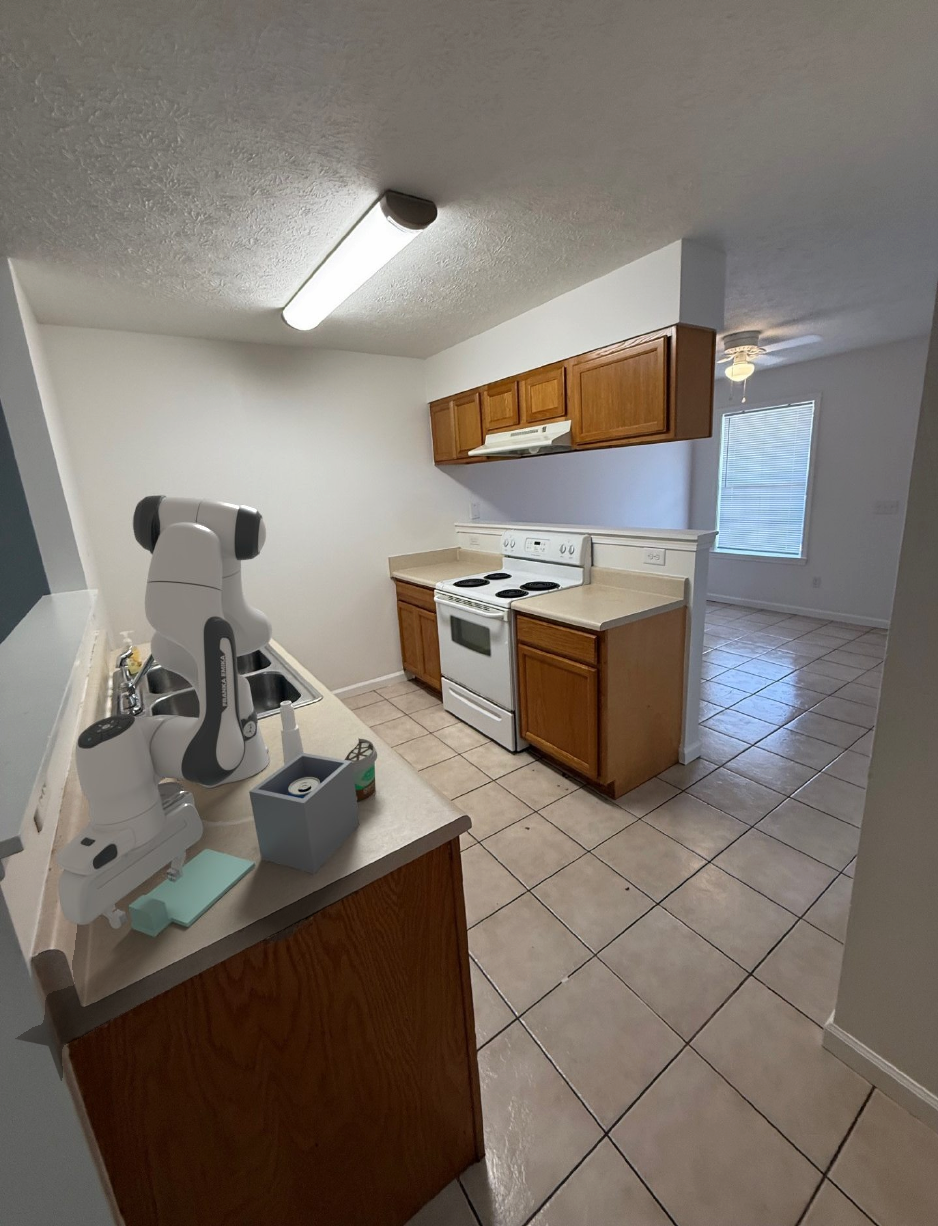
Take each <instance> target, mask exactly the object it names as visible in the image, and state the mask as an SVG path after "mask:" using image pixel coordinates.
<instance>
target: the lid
mask: <svg viewBox="0 0 938 1226" xmlns="http://www.w3.org/2000/svg"><path fill="white" fill-rule="evenodd" d="M254 867H256V862H255V861H251V860H247V859H244V858H241V857H238V856H233V855H230V854H227V853H223V852H220V851H216V850H212V849H209V848H204V850H202V851H201V852H200V853H198V854H197V855H196V856H195V857H193V858H192V859H191V860H189V861H188V862H187V863H185V864H183V867H182V871H183V876H182V877H181V878H180V879H179V880H177V881H176V882H173V881H169V879H168V877H167V878H166V879H165V880H163V881H162V882H161V883H160V884H158V885H157V886H155V888H153V889H152V890H151V891H150V892H148V893H146V894H142V895H140V896H139V897H138V898H136V899H135V900H134V901H132V902H131V903H130V904H129V905H128V911H129V914H130V919H131V923H130V925H131V926H130V927H131V928H132V930H135V931H138V932H140V933H144V934H146V935H148V936H150V935H151V937H153V936H154V937H153V938H155V937H156V936H157V935H159V934H160V933H161V932H162V931H163V930H164V929H165V928H167V927H168V926H169V925H170V924H171V923H175V924H177V925H181V926H182V927H186V928H190V926H192V925H193V924H194V923H195V922H196V921H197V920H198V919H199V918H200V917H202V915H203V914H204V913H206V912H207V911H208V910H209V909H210V908H211V907H212V906H213V905H214V904H215V903H217V901H219V899H221V897H223V896H224V895H225V894H226V893H227V892H228V891H229V890H230V889H232V887H234V886H235V885H236V884H237V883H238V882H239V881H240V880H241V879H243V878H244V876H245V875H247V874H248V873H249V872H250V871H252V869H253V868H254ZM161 930H162V931H161ZM159 932H160V933H159ZM158 933H159V934H158Z"/></svg>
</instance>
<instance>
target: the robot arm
mask: <svg viewBox="0 0 938 1226" xmlns="http://www.w3.org/2000/svg"><path fill="white" fill-rule="evenodd" d="M132 529H133V534H134V539H135V540H136V542H137V543H138V544H139V545H140V546H141V547H142V548H143V549H144V550H147V551H149V552H150V554H151V555H152V556H151V559H150V563H149V569H148V573H147V581H146V585H145V586H146V587H145V593H144V610H145V616H146V617H145V618H146V619H147V622H148V623H149V624H150V626H151V627H152V628H153V629H154V631H155V632H154V633H153V635H152V637H151V641H150V653H151V656H152V658H153V660H154V661H155V662H156V663H157V664H158V665H159V666H160V667H162V668H163V669H165V670H166V671H170V672H173V673H175V674H176V675H177V674H178V675H179V676H181V677H182V678H184V679H185V680H186V681H188V683H189V684H190V685H191V687H192V688H193V689H194V690H195V693H196V696H197V699H198V701H199V702H198V703H199V716H198V717H194V716H193V717H192V716H191V717H190V716H184V715H173V714H158V715H150V716H147V717H144V716H143V717H142V716H135V715H133V714H126V713H123V714H121V713H120V714H116V715H115V714H114V715H111V716H108V717H105V718H102V719H100V720H97V721H95V722H93V723H91V725H89V726H88V727H86V728H85V729H84V730H83V731H82V732H81V733H80V735H79V736H78V738H77V741H76V742H75V743H76V744H75V753H74V755H75V756H74V757H75V766H76V772H77V777H78V780H79V781H78V782H79V785H80V788H81V793H82V795H83V796H84V797H85V798H86V800H87V802H88V804H89V810H88V818H89V822H88V823H87V824H85V826H84V827H83V828H82V829H81V830H80V831H79V833H77V834H76V835H75V836H74V837H73V838H72V839H71V840H70V841H69V842H68V843H67V844H66V845H65V846H64V847H62V848H61V850H60V851H59V852H58V853H57V854H56V856H55V862H56V864H57V866H59V867H60V868H61V869H63V870H62V871H61V873H60V875H59V877H58V882H57V889H58V890H57V891H58V897H59V899H58V900H59V904H60V909H61V912H62V915H63V917H64V919H66V920H67V921H68V922H70V923H73V924H75V925H80V926H86V925H89V924H90V923H92V922H93V921H94V920H95V919H96V918H98V917H100V915H101V916H104V917H106V918H107V919H108V922H109V925H110V927H111V928H113V929H116V930H117V929H118V930H119V928H121V927H122V926H123V925H124V924H126V922H128V918H127V916H128V915H127V913H126V911H124V910H121V909H120V908H119V909H116V908H117V907H116V903H118V902H119V901H120V900H122V899H123V898H124V897H126V896H128V894H130V893H131V892H132V891H134V890H135V889H136V888H137V887H139V886H140V885H142V884H143V883H144V882H145V881H147V880H148V879H150V878H151V877H152V876H153V875H154V874H156V873H157V872H158V871H159V870H162V868H164V867H165V866H167V865H168V864H169V863H170V862H171V864H170V868H169V869H167V870H166V875H167V878H168V879H169V881H173V882H176V881H177V880H179V879H180V878H181V877H182V876H183V871H182V867H183V866H184V862H185V860H186V857H187V852H186V850H187V849H189V848H191V847H192V846H193V845H194V844H195V843H197V842H198V841H199V840H200V839H201V838H202V836H203V832H204V826H203V823H202V819H201V818H200V815H199V812H198V810H197V808H196V807H195V806H196V803H195V799H194V795H193V793H192V792H191V791H189V790H188V791H187V790H185V791H184V790H183V791H180V792H178V793H176V794H175V795H174V796H173V797H171V798H169V799H167V800H165V801H163V802H162V801H161V797H160V793H159V790H158V784H160V782H162V781H164V780H165V779H166V778H167V779H174V780H182V781H183V780H184V781H188V782H191V783H195V784H198V785H200V786H202V787H204V788H206V789H211V788H214V787H218V786H221V785H224V784H227V783H234V782H238V781H242V780H245V779H249V778H250V777H252V776H254V775H256V774H258V773H260V772H261V771H263V770H264V769H265V768H266V767H267V766H268V764H269V763H270V757H269V754H268V752H269V747H268V745H266V744H265V742H264V741H265V740H264V737H263V734H262V732H261V731H262V730H261V728H260V725H259V721H258V713H257V711H256V708H255V707H254V704H253V697H252V693H251V687H250V686H251V685H250V683H249V681H248V679H247V678H246V677H245V676H243V675H242V674H240V673H238V657H240V656H244V655H245V656H246V655H249V654H252V653H253V652H256V651H258V650H260V649H262V648H264V647H267V645H268V644H270V641H271V640H272V635H273V627H272V623H271V620H270V618H269V617H268V615H266V613H265V612H263V611H262V610H260V609H258V608H256V607H254V606H252V605H251V604H250V603H248V601H247V599H246V598H245V596H244V593H243V587H242V586H243V585H242V584H243V583H242V561H248V560H254V558H256V557H257V556H259V555H260V553H261V551H262V549H263V547H264V546H265V542H266V538H267V529H266V524H265V522H264V520H263V515H262V514H261V513H260V511H258V509H256V508H254V507H250V506H247V505H245V504H240V505H237V504H234V503H229V502H225V501H221V500H215V499H209V498H195V497H194V498H193V497H192V498H191V497H178V496H177V497H173V496H171V497H169V496H168V497H167V496H166V495H162V494H161V495H148V496H147V495H146V496H145V497H143V498H142V499H141V500H139V502H137V504H136V506H135V509H134V512H133V516H132Z"/></svg>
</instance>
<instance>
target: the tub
mask: <svg viewBox="0 0 938 1226" xmlns="http://www.w3.org/2000/svg"><path fill="white" fill-rule="evenodd" d="M305 777H314V778H317V779H318V780H319V781H320V783H321V784H319V785H318V786H317V787H316V788H315V789H314V790H312V791H311V792H310V793H309V794H308V795H307V796H306V797H304V798H303V799H302V798H297V797H293V796H288V795H287V793H288V791H289V790H288V788H289V786H290V785H291V784H292V783H293V782H294V781H296V780H298V779H301V778H305ZM248 793H249V799H250V804H251V809H252V816H253V822H254V826H255V832H256V837H257V841H258V848H259V853H260V854H259V855H260V858H261V860H263V861H268V862H270V863H274V864H278V865H282V866H285V867H289V868H292V869H293V868H294V869H295V870H296V869H297V870H300V871H303V872H307V873H310V874H316V873H317V872H318V871H319V870H320V868H322V867H323V865H324V864H325V863H326V862H327V861H328V860H329V859H330V858H331V856H332V855H333V854H334V853H335V852H336V851H337V850H338V849H339V848H340V847H341V846H342V844H343V843H344V842H345V841H346V840H347V839H348V838H349V837H350V836H351V835H352V833H353V832H354V831H355V830H356V829H357V828H358V827H359V826H360V824H361V823H360V817H359V815H360V814H359V808H358V803H357V799H356V791H355V783H354V775H353V767H352V761H348V760H345V759H341V758H335V757H329V756H324V755H323V756H322V755H319V754H318V755H317V754H313V753H306V752H304V753H301V754H299V755H298V756H297V757H295V758H294V759H292V760H291V761H290V762H288V763H287V764H286V765H283V766H282V767H280V768H279V769H277V770H276V771H275V772H273V773H272V774H270V775H269V776H268V777H267V778H265V779H264V780H263V781H261V782H259V783H258V784H256V786H254V787H253V788H252V789H250V790H249V791H248Z"/></svg>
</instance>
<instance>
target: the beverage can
mask: <svg viewBox="0 0 938 1226" xmlns="http://www.w3.org/2000/svg"><path fill="white" fill-rule="evenodd" d="M319 784H321V783H320V781H319V780H318V779H317V778H314V777H305V778H301V779H298V780H296V781H294V782H293V783H292V784H291V785H290V786H289V788H288V790H289V791H288V793H287V795H288V796H293V797H297V798H302V799H303V798H304V797H306V796H307V795H308V794H309V793H310V792H311V791H312V790H314V789H315V788H316V787H317V786H318V785H319Z"/></svg>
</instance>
